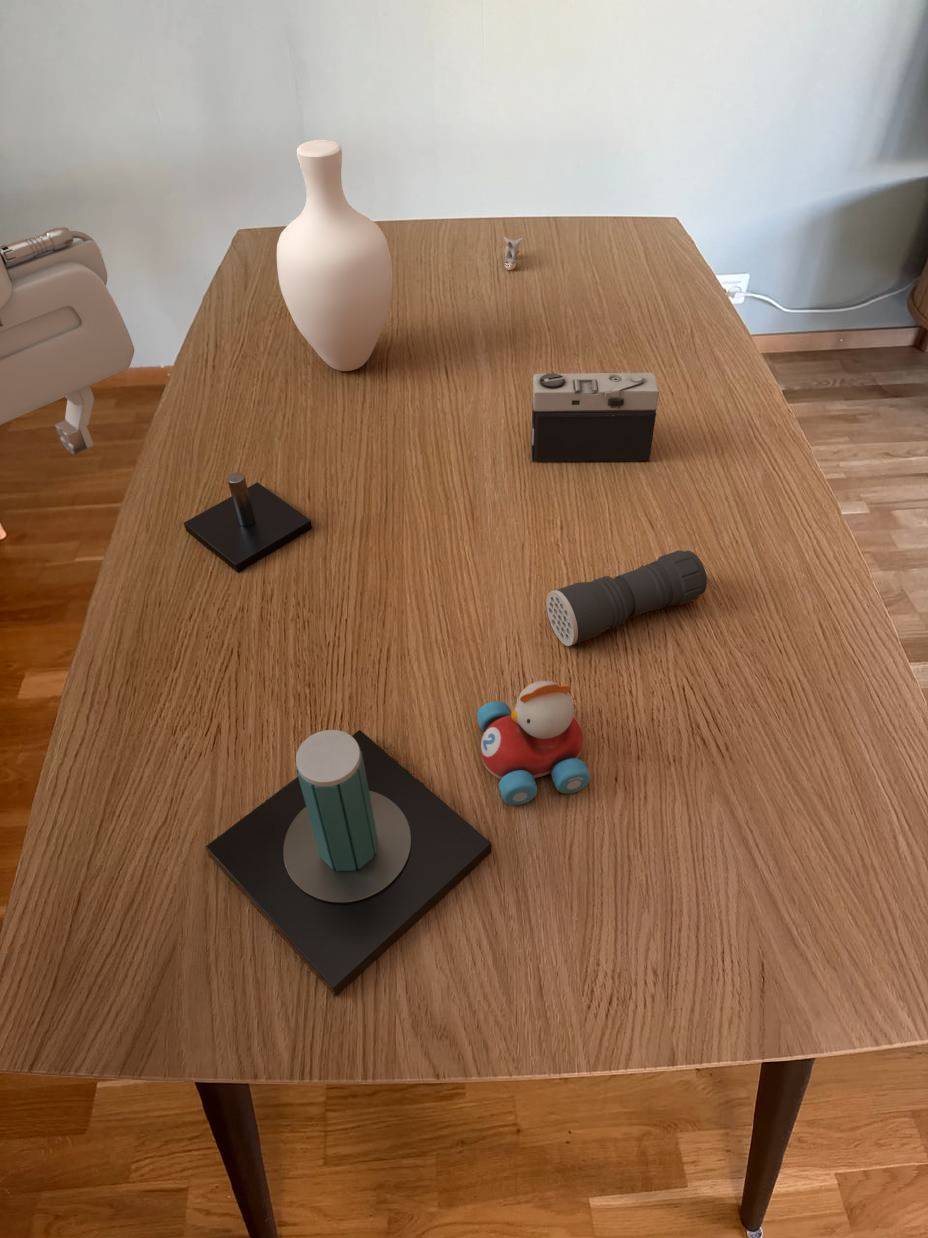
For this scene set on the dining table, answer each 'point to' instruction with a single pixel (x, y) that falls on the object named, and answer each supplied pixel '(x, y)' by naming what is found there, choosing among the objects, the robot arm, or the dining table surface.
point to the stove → (350, 900)
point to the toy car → (533, 742)
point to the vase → (334, 265)
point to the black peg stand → (247, 524)
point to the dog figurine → (511, 252)
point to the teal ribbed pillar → (337, 799)
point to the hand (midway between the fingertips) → (14, 478)
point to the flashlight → (624, 596)
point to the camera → (593, 416)
